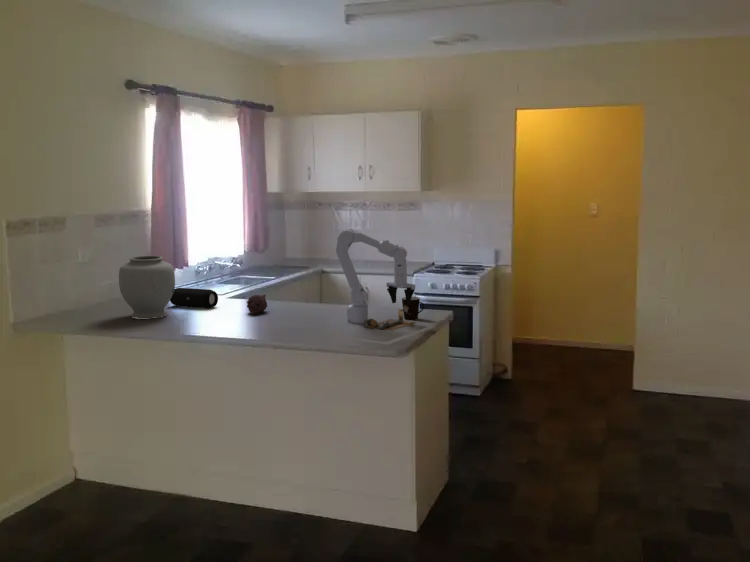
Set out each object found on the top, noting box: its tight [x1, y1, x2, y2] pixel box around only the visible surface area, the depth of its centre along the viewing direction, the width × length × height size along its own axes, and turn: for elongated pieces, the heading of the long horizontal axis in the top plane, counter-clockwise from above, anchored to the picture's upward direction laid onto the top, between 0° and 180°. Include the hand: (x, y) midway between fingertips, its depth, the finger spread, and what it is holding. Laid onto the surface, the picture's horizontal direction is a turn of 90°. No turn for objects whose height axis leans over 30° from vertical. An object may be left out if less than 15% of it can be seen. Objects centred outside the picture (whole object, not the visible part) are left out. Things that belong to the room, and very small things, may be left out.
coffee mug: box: [401, 296, 425, 321], centre depth 351 cm, size 12×9×10 cm
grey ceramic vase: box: [118, 255, 176, 318], centre depth 371 cm, size 27×27×30 cm
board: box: [363, 318, 418, 331], centre depth 335 cm, size 17×21×4 cm
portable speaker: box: [169, 287, 219, 309], centre depth 396 cm, size 26×10×10 cm, turn 66°
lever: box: [378, 308, 404, 330], centre depth 333 cm, size 3×18×6 cm, turn 145°
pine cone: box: [246, 294, 268, 315], centre depth 376 cm, size 18×10×10 cm
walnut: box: [370, 319, 378, 327], centre depth 331 cm, size 3×3×3 cm
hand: (401, 303), depth 339 cm, fingers open, 7 cm apart
